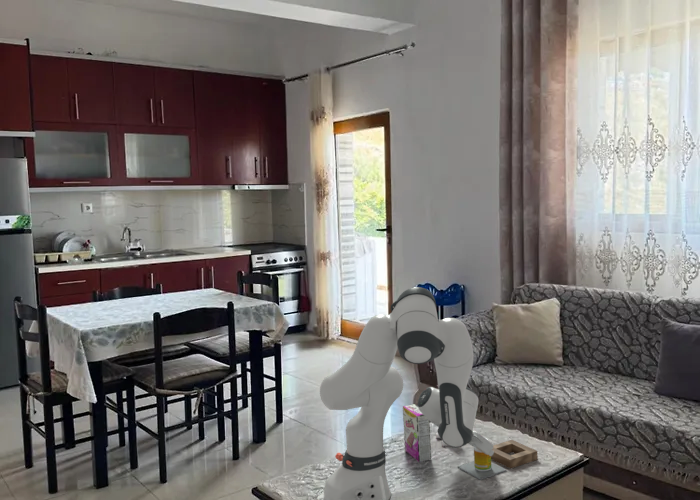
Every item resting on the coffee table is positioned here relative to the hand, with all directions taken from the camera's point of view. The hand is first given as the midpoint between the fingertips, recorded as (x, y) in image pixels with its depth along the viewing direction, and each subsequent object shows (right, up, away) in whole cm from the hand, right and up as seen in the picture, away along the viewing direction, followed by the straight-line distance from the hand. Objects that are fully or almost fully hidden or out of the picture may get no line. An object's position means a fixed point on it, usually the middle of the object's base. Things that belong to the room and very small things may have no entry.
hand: (483, 448), depth 214 cm
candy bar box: (-20, -7, +14) cm, 25 cm away
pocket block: (+11, -6, +8) cm, 15 cm away
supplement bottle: (0, -7, 0) cm, 7 cm away
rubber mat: (0, -7, 0) cm, 7 cm away
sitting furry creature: (-7, -5, +25) cm, 27 cm away
